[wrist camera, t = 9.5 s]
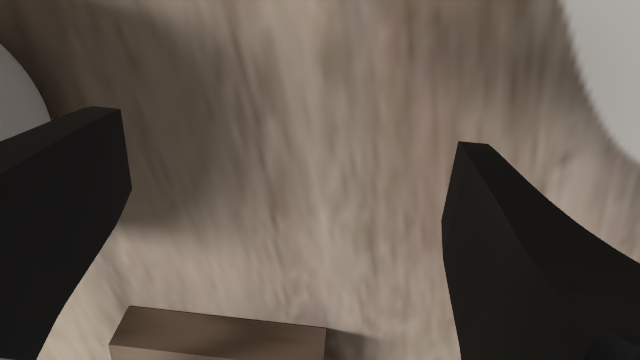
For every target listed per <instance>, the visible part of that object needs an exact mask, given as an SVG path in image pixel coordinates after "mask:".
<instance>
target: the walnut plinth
mask: <svg viewBox="0 0 640 360" xmlns="http://www.w3.org/2000/svg"><path fill="white" fill-rule="evenodd" d="M325 339H326V328H318V327H310V326H301V325H292V324H283V323H274V322H265V321H257V320H248V319H239V318H230V317H221V316H212V315H204V314H195V313H186V312H177V311H168V310H159V309H151V308H142V307H133V306H129V307H128V308H127V310H126V312H125V314H124V316H123V318H122V320H121V322H120V324H119V326H118V328H117V329H116V331H115V333H114V335H113V337H112V339H111V341H110V343H109V349H110V354H111V359H112V360H324V350H325Z"/></svg>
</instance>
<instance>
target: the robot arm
mask: <svg viewBox="0 0 640 360" xmlns="http://www.w3.org/2000/svg"><path fill="white" fill-rule="evenodd" d="M131 190H132V185H131V178H130V172H129V165H128V158H127V151H126V144H125V137H124V131H123V124H122V117H121V110H120V109H115V108H105V107H94V106H92V107H88V108H84V109H81V110H78V111H75V112H72V113H70V114H67V115H64V116H62V117H59V118H57V119H54V120H52V121H49V122H47V123H44V124H42V125H40V126H37V127H35V128H32V129H30V130H27V131H25V132H22V133H20V134H18V135H15V136H13V137H10V138H8V139H5V140H2V141H0V360H36V359H37V357H38V355H39V353H40V351H41V349H42V347H43V345H44V343H45V341H46V339H47V337H48V335H49V333H50V331H51V329H52V327H53V325H54V323H55V321H56V319H57V317H58V315H59V314H60V312H61V310H62V309H63V307H64V305H65V304H66V302H67V300H68V299H69V297H70V296H71V294H72V293H73V291H74V290H75V288H76V287H77V285H78V283H79V282H80V280H81V279H82V277H83V276H84V274H85V273H86V271H87V270H88V268H89V267H90V265H91V264H92V262H93V261H94V259H95V257H96V256H97V254H98V253H99V251H100V250H101V248H102V247H103V245H104V244H105V242H106V240H107V239H108V237H109V236H110V234H111V232H112V231H113V229H114V228H115V226H116V224H117V222H118V220H119V218H120V216H121V213H122V211H123V209H124V207H125V204H126V202H127V200H128V197H129V195H130V192H131ZM441 221H442V247H443V261H444V267H445V273H446V278H447V283H448V289H449V294H450V299H451V304H452V309H453V315H454V320H455V325H456V330H457V335H458V341H459V346H460V353H461V360H640V263H638V262H636V261H634V260H633V259H631V258H629V257H628V256H626V255H624V254H623V253H621V252H619V251H618V250H616V249H614V248H613V247H611V246H610V245H608V244H607V243H605V242H604V241H602V240H601V239H599V238H598V237H596V236H595V235H594V234H592V233H591V232H589V231H588V230H586V229H585V228H583V227H582V226H581V225H579V224H578V223H577V222H575V221H574V220H573V219H571V218H570V217H569V216H568V215H567V214H565V213H564V212H563V211H562V210H560V209H559V208H558V207H557V206H555V205H554V204H553V203H552V202H551V201H549V200H548V199H547V198H546V197H545V196H544V195H542V194H541V193H540V192H539V191H538V190H537V189H536V188H535V187H534V186H532V185H531V184H530V183H529V182H528V181H527V180H526V179H525V178H524V177H523V176H522V175H521V174H520V173H519V172H518V171H517V170H516V169H514V168H513V167H512V166H511V165H510V164H509V163H508V162H507V161H506V160H505V159H504V158H503V157H502V156H501V155H500V154H499V153H498V152H497V151H496V150H495V149H493V148H492V147H491V146H490V145H489V144H482V143H471V142H461V141H458V146H457V150H456V155H455V160H454V164H453V169H452V174H451V178H450V183H449V188H448V192H447V197H446V202H445V206H444V211H443V216H442V220H441Z"/></svg>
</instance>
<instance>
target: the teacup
mask: <svg viewBox="0 0 640 360" xmlns="http://www.w3.org/2000/svg"><path fill="white" fill-rule="evenodd" d="M49 121H51V119H50V116H49V113H48V110H47V108H46V105H45V103H44V101H43V99H42V97H41V95H40V93H39V91H38V90H37V88H36V86H35V85H34V83H33V81H32V80H31V78H30V77H29V75H28V74H27V73H26V71H25V70H24V69H23V67H22V66H21V65H20V64H19V63H18V62H17V60H16V59H15V58H14V57H13V56H12V55H11V54H10V53H9V52H8V51H7V50H6V49H5V48H4V47H3V46H2V45H1V44H0V141H2V140H5V139H8V138H10V137H13V136H15V135H18V134H20V133H22V132H25V131H27V130H30V129H32V128H35V127H37V126H40V125H42V124H44V123H47V122H49Z"/></svg>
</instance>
